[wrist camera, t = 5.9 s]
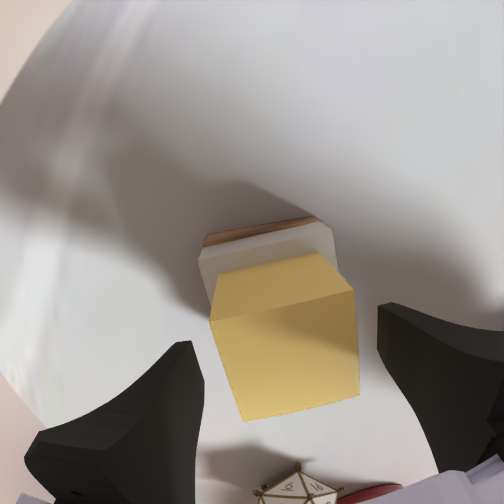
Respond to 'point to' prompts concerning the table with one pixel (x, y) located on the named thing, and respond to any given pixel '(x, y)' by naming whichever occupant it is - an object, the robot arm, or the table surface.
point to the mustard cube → (286, 336)
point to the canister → (368, 494)
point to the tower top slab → (265, 251)
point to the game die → (298, 491)
